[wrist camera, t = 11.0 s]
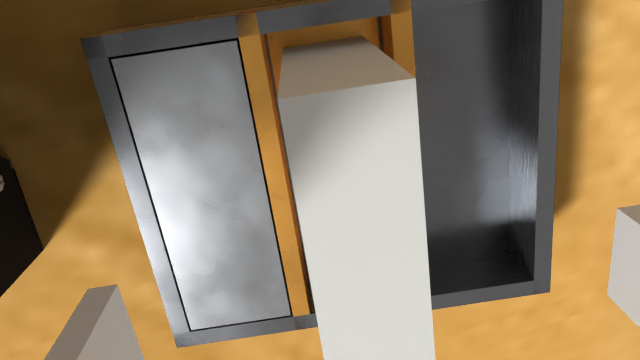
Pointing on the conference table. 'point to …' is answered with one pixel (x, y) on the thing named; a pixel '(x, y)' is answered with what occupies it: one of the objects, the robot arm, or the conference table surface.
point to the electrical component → (14, 229)
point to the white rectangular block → (359, 197)
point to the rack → (272, 161)
